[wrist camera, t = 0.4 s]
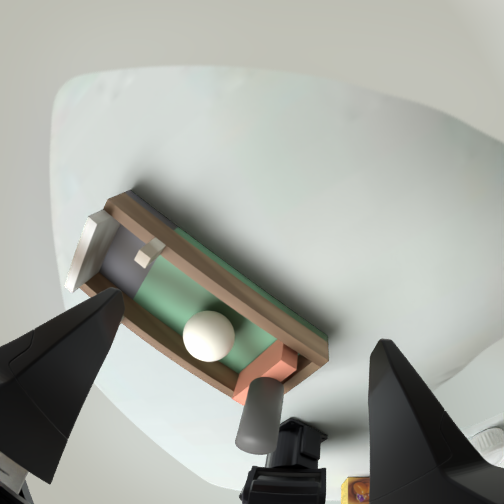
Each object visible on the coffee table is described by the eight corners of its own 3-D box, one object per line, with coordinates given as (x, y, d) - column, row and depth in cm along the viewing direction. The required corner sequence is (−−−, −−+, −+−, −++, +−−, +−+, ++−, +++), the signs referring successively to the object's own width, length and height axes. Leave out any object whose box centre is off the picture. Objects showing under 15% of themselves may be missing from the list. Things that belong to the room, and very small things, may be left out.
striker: (261, 386, 29) (244, 464, 20) (237, 371, 28) (213, 450, 20) (308, 348, 26) (304, 436, 17) (282, 331, 26) (269, 419, 17)
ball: (222, 347, 28) (210, 379, 24) (184, 321, 27) (166, 350, 23) (249, 320, 26) (239, 353, 22) (208, 291, 26) (191, 320, 22)
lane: (262, 388, 31) (253, 431, 25) (94, 268, 28) (59, 295, 23) (327, 335, 27) (329, 382, 21) (130, 189, 24) (88, 207, 19)
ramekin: (505, 437, 30) (512, 457, 26) (454, 465, 34) (458, 487, 29) (505, 413, 28) (515, 436, 23) (445, 447, 32) (451, 472, 27)
